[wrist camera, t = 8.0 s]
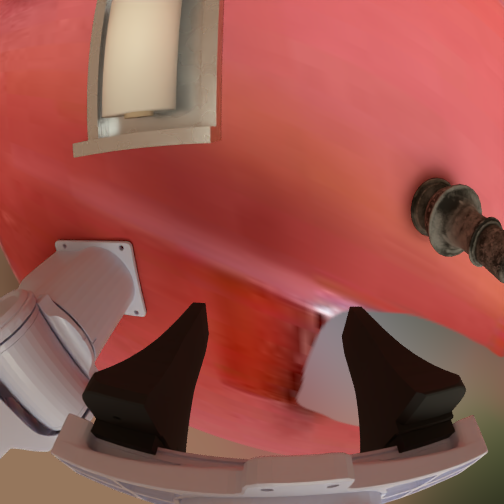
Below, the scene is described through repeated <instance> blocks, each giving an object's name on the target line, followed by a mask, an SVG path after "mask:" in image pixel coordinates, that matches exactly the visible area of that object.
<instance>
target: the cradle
mask: <svg viewBox="0 0 504 504" xmlns="http://www.w3.org/2000/svg"><path fill="white" fill-rule="evenodd" d="M111 4H112V0H97V4H96V9H95V15H94V21H93V28H92V35H91V43H90V53H89V66H88V85H87V126H88V141H84V142H79V143H75V144H73V155H74V157H80V156H85V155H91V154H97V153H104V152H111V151H118V150H126V149H134V148H143V147H153V146H165V145H179V144H198V143H212V142H216V141H219V140H221V89H222V42H223V15H224V0H182V7H181V17H180V29H179V42H178V59H177V84H176V110H173V111H167V112H160V113H154V115H153V116H148V117H140V118H130V119H124V117H112V118H103V117H102V88H103V68H104V55H105V45H106V36H107V29H108V22H109V16H110V10H111Z"/></svg>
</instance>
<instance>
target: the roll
mask: <svg viewBox="0 0 504 504" xmlns="http://www.w3.org/2000/svg"><path fill="white" fill-rule="evenodd" d="M181 7H182V0H112V4H111V10H110V16H109V22H108V29H107V36H106V45H105V55H104V68H103V88H102V117H103V118H112V117H124V119H130V118H140V117H148V116H153V115H154V113H160V112H167V111H173V110H176V84H177V59H178V42H179V29H180V17H181Z"/></svg>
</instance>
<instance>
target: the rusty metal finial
mask: <svg viewBox="0 0 504 504" xmlns="http://www.w3.org/2000/svg"><path fill="white" fill-rule="evenodd" d="M411 218H412V221H413V224H414V226H415V227H416V229H417V230H418V231H419V232H420V233H421V234H423V235H426V236H429V239H430V243H431V245H432V246H433V248H434V249H435V250H436V251H437V252H438V253H439V254H440V255H443V256H447V257H452V256H455V255H458V254H460V253H462V252H463V251H465V252H466V253H467V254H469V258H470V261H471V262H472V263H473V265H475V266H477V267H482V266H484V267H485V268H486V269H487V270H488V271H489V272H491V273H492V274H493V275H494V276H495V277H496V278H497V279H498V280H499V281H500V282H502V283H504V230H503V229H502V226H501V223H500V222H499V220H497V219H496V218H494V217H488V218H486V217H484V216H483V215H482V209H481V203H480V200H479V198H478V195H477V194H476V193H475V191H474V190H473V189H471V188H470V187H468V186H467V185H462V184H459V185H453V186H451V185H450V183H449V182H447V181H445V180H444V179H440V178H433V179H429V180H428V181H426V182H424V183H423V184H422V185H421V186H420V187H419V188H418V190H417V191H416V193H415V195H414V198H413V200H412V206H411Z"/></svg>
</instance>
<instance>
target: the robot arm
mask: <svg viewBox="0 0 504 504" xmlns="http://www.w3.org/2000/svg"><path fill="white" fill-rule="evenodd" d="M121 245H122V246H123V248H124V249H122V248H121ZM66 246H67V247H66ZM55 247H56V252H55V253H54V254H52V255H51V256H50V257H49V258H47V259H46V260H45V261H44V262H42V263H41V264H40V265H39V266H38V267H36V268H35V269H34V270H33V271H32V272H31V273H29V274H28V275H27V276H26V277H25V278H24V279H23V280H22V282H21V283H20V285H19V287H18V289H16V290H13V291H11V292H9V293H7V294H5V295H4V296H2V297H1V298H0V459H1V457H2V456H3V455H4V454H5V453H6V452H7V451H8V450H9V449H11V448H15V449H23V450H31V451H41V452H47V451H50V450H51V449H52V450H51V454H52V455H53V456H55V457H56V458H57V459H58V460H60V461H61V462H63V463H64V464H65V465H66V466H68V467H69V468H70V469H72V470H73V471H74V472H76V473H77V474H80V475H82V476H84V477H86V478H88V479H91V480H93V481H95V482H97V483H100V484H102V485H104V486H107V487H110V488H112V489H114V490H117V491H120V492H122V493H125V494H127V495H130V496H133V497H136V498H139V499H142V500H145V501H149V502H151V503H155V504H383V503H386V502H390V501H393V500H396V499H399V498H401V497H405V496H408V495H410V494H413V493H415V492H418V491H421V490H423V489H426V488H428V487H430V486H433V485H435V484H437V483H439V482H442V481H444V480H446V479H448V478H451V477H453V476H455V475H457V474H459V473H461V472H462V471H464V470H465V469H466V468H468V467H469V466H470V465H472V464H473V463H475V462H476V461H477V460H479V459H480V458H481V457H482V456H484V455H485V454H486V453H487V452H488V450H487V447H486V445H485V442H484V439H483V437H482V434H481V432H480V429H479V427H478V425H477V423H476V420H475V418H474V415H472V416H469V417H466V418H464V419H461V420H459V421H457V422H455V423H454V424H452V422H451V419H452V418H453V414H452V410H453V409H454V408H455V407H456V405H457V404H458V403H459V402H460V401H461V399H462V398H463V396H464V394H465V392H466V388H465V386H464V384H463V382H462V380H461V378H460V377H459V375H457V374H454V373H451V372H449V371H446V370H443V369H441V368H439V367H437V366H434V365H432V364H431V363H429V362H427V361H425V360H423V359H422V358H420V357H418V356H417V355H415V354H414V353H412V352H411V351H410V350H408V349H407V348H405V347H404V346H403V345H401V344H400V343H399V342H398V341H397V340H395V339H394V338H393V337H392V336H391V335H390V334H389V333H387V332H386V331H385V330H384V329H383V328H382V327H381V326H380V325H379V324H378V323H377V322H376V321H375V320H374V319H373V318H372V317H371V316H370V315H369V314H368V313H367V312H366V311H365V310H364V309H363V308H362V307H350V308H349V312H348V316H347V320H346V324H345V327H344V331H343V334H342V341H343V348H344V354H345V357H346V361H347V364H348V367H349V371H350V374H351V378H352V381H353V384H354V388H355V393H356V399H357V406H358V415H359V426H360V453H358V454H351V455H349V454H346V453H324V454H311V455H289V456H259V457H255V458H251V459H234V458H224V457H214V456H205V455H198V454H192V453H186V443H187V434H188V426H189V418H190V412H191V405H192V400H193V394H194V389H195V385H196V382H197V379H198V375H199V372H200V369H201V366H202V362H203V359H204V356H205V352H206V348H207V342H208V335H209V331H208V322H207V313H206V304H205V303H192V304H191V305H190V307H189V308H188V309H187V310H186V311H185V312H184V313H183V314H182V315H181V316H180V318H179V319H178V320H177V321H176V322H175V323H174V324H173V325H172V326H171V327H170V328H169V329H168V330H167V331H165V332H164V333H163V334H162V335H161V336H160V337H159V338H158V339H156V340H155V341H154V342H153V343H151V344H150V345H149V346H147V347H146V348H145V349H143V350H141V351H140V352H138V353H137V354H135V355H133V356H132V357H130V358H128V359H126V360H124V361H122V362H120V363H118V364H116V365H114V366H111V367H109V368H106V369H104V370H101V371H98V369H97V368H96V366H95V363H94V362H95V361H96V359H97V357H98V355H99V354H100V352H101V350H102V349H103V347H104V345H105V344H106V342H107V340H108V339H109V337H110V335H111V334H112V332H113V331H114V329H115V327H116V326H117V324H118V323H119V321H120V319H121V318H122V316H123V315H124V314H125V315H133V316H141V317H144V316H145V315H146V308H145V304H144V300H143V295H142V291H141V287H140V282H139V277H138V273H137V268H136V263H135V257H134V252H133V246H132V244H131V243H130V242H128V241H90V240H58V241H56V242H55ZM137 311H138V312H137ZM93 416H95V418H96V420H95V422H94V424H93V423H92V422H90V421H91V420H92V418H93Z"/></svg>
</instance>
